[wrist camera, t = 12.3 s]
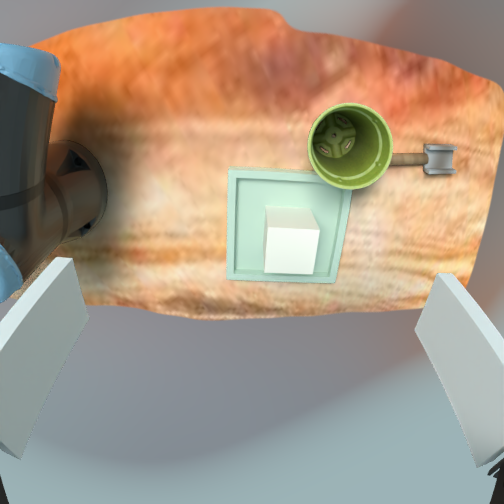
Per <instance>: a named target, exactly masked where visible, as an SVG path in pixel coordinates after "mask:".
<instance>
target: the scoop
mask: <svg viewBox="0 0 504 504" xmlns="http://www.w3.org/2000/svg"><path fill="white" fill-rule="evenodd" d="M453 150H457V147H456V146H454V145H451V144H424V153H392V158H391V161H390V164H389V165H415V164H423V171H424V172H426V173H428V174H456V170H455V169H453V168H452V155H453Z"/></svg>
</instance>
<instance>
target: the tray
mask: <svg viewBox="0 0 504 504" xmlns="http://www.w3.org/2000/svg"><path fill="white" fill-rule="evenodd" d="M352 190H353V189H351V190H350V189H342V188H338V187H335V186H333V185H331V184H329V183H327V182H326V181H324V180H323V179H322V178H321V177H320V176H319V175H318V174H317V173H316V172H315V171H307V170H294V169H279V168H262V167H240V166H229V169H228V202H227V279H228V280H251V281H277V282H309V283H335V280H336V275H337V271H338V266H339V261H340V256H341V251H342V246H343V241H344V236H345V230H346V225H347V219H348V214H349V208H350V202H351V196H352ZM265 206H282V207H298V208H310V209H311V211H312V214H313V216H314V218H315V220H316V222H317V225H318V227H319V229H320V233H319V239H318V246H317V252H316V258H315V264H314V270H313V274H289V273H264V261H263V234H264V220H265Z"/></svg>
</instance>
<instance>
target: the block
mask: <svg viewBox="0 0 504 504" xmlns="http://www.w3.org/2000/svg"><path fill="white" fill-rule="evenodd" d="M319 233H320V229H319V227H318V225H317V222H316V220H315V218H314V216H313V214H312V211H311V209H310V208H298V207H282V206H265V220H264V234H263V261H264V273H289V274H313V270H314V264H315V258H316V252H317V246H318V239H319Z"/></svg>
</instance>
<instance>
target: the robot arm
mask: <svg viewBox="0 0 504 504" xmlns="http://www.w3.org/2000/svg"><path fill="white" fill-rule="evenodd" d="M60 72H61V65H60V62H59V60H58V58H57V57H56V56H55V55H53V54H51V53H49V52H46V51H42V50H39V49H35V48H30V47H25V46H20V45H14V44H6V43H0V303H2V302H4V301H5V300H7V298H9V297H10V296H11V295H12V294H13V293H14V292H15V291H16V290H18V289H20V288H21V287H22V285H23V283H24V282H25V281H26V280H27V278H28V277H29V276H30V275H31V274H32V273H33V272H34V271H35V269H36V268H37V267H38V266H39V265H40V264H41V263H42V262H43V261H44V260H45V259H46V258H47V256H48V255H49V254H50V253H51V252H52V251H53V250H54V249H55V248H56V247H57V246H58V245H59V244H62V243H65V242H69V241H72V240H75V239H78V238H80V237H82V236H84V235H86V234H87V233H88V232H89V231H90V230H91V229H92V228H93V227H94V226H95V225H96V224H97V223H98V222H99V221H100V219H101V217H102V215H103V213H104V211H105V207H106V203H107V185H106V180H105V176H104V173H103V171H102V169H101V167H100V165H99V163H98V161H97V160H96V158H95V157H94V156H93V155H92V154H91V153H90V152H89V151H88V150H87V149H86V148H84V147H83V146H81V145H80V144H78V143H75V142H72V141H66V140H61V141H55V142H52V143H49V139H50V132H51V125H52V119H53V114H54V108H55V103H57V101H58V98H57V89H58V83H59V77H60ZM88 320H89V315H88V312H87V309H86V305H85V302H84V299H83V295H82V292H81V288H80V285H79V281H78V277H77V274H76V270H75V266H74V262H73V258H63V257H56V258H55V259H54V260H53V261H52V262H51V263H50V264H49V265H48V266H47V268H46V269H45V270H44V271H43V272H42V273H41V274H40V275H39V276H38V278H37V279H36V280H35V281H34V282H33V283H32V284H31V285H30V287H29V288H28V289H27V290H26V291H25V292H24V294H23V295H22V296H21V297H20V298H19V300H18V301H17V302H16V304H15V305H14V306H13V307H12V308H11V309H10V311H9V312H8V313H7V314H6V316H5V317H4V318H3V319H2V321H1V322H0V449H1V450H2V451H4V452H6V453H8V454H10V455H12V456H14V457H16V458H18V459H20V460H21V458H22V455H23V452H24V450H25V447H26V445H27V443H28V440H29V438H30V436H31V433H32V431H33V428H34V426H35V424H36V422H37V419H38V417H39V415H40V413H41V410H42V408H43V406H44V404H45V402H46V400H47V398H48V396H49V394H50V392H51V389H52V387H53V385H54V383H55V381H56V379H57V377H58V375H59V373H60V371H61V370H62V368H63V366H64V364H65V362H66V360H67V358H68V356H69V354H70V352H71V350H72V349H73V347H74V345H75V343H76V341H77V340H78V338H79V336H80V334H81V332H82V331H83V329H84V327H85V325H86V324H87V322H88ZM414 330H415V332H416V334H417V336H418V338H419V340H420V341H421V343H422V345H423V347H424V349H425V351H426V353H427V355H428V357H429V359H430V361H431V363H432V365H433V367H434V369H435V371H436V373H437V375H438V377H439V379H440V381H441V383H442V386H443V388H444V390H445V392H446V394H447V396H448V398H449V400H450V403H451V405H452V407H453V410H454V411H455V414H456V416H457V419H458V421H459V423H460V426H461V428H462V430H463V433H464V435H465V438H466V440H467V443H468V445H469V448H470V451H471V453H472V456H473V458H474V461H475V464H476V466H477V468H478V467H480V466H483V465H485V464H487V463H489V462H491V461H493V460H495V459H496V458H497V457H498V456H499V455H500V454H501V453H503V452H504V339H503V338H502V336H501V335H500V333H499V332H498V331H497V329H496V328H495V327H494V325H493V324H492V322H491V321H490V320H489V318H488V317H487V316H486V314H485V313H484V312H483V311H482V309H481V308H480V307H479V305H478V304H477V303H476V302H475V300H474V299H473V298H472V297H471V296H470V294H469V293H468V292H467V291H466V289H465V288H464V287H463V286H462V285H461V283H460V282H459V281H458V280H457V279H456V277H455V276H454V275H453V274H452V273H437V275H436V278H435V280H434V283H433V286H432V288H431V291H430V294H429V296H428V299H427V301H426V304H425V306H424V308H423V311H422V314H421V316H420V318H419V320H418V323H417V325H416V327H415V329H414ZM499 468H500V470H499V471H498V472H497V473H495V474H494V476H493V477H495V478H497V481H496V485H495V488H494V491H493V495H492V498H491V501H490V504H504V458H503V459H502V460H501V461H499V462H498V463H497V464H496V465H495V466H493V467H492V468H491V469H490V470H489V473H488V475H491V474H492V473H494V472H495V471H496V470H498V469H499ZM0 504H9V502H8V499H7V496H6V493H5V490H4V487H3V484H2V480H1V477H0Z"/></svg>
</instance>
